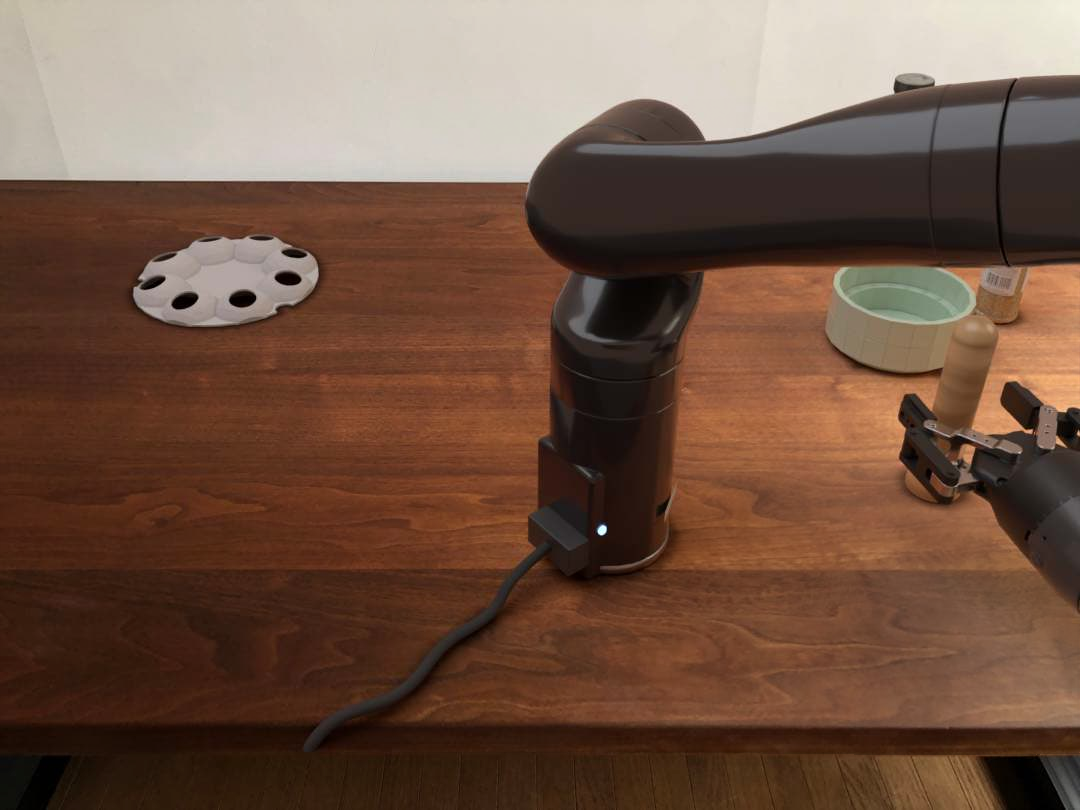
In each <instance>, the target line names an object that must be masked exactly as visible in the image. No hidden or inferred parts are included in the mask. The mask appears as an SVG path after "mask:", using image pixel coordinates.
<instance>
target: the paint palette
mask: <svg viewBox="0 0 1080 810" xmlns="http://www.w3.org/2000/svg"><path fill="white" fill-rule="evenodd" d="M290 256H301V257H300V258H299V257H298V258H297V257H290ZM282 275H293V276H296V277H298V278H299V279H300V280H301V281H300V282H299V283H298V284H294V285H286V284H282V283H280V282H278V281H277V280H276V278H277V277H278V276H282ZM319 277H320V275H319V266H318V262H317V260H316V258H315V256H313V255H312V254H311V253H309V252H308V251H307V250H305V249H303V248H299V247H295V246H293V245H291V244H288V243H285V242H283V241H282V240H280V238H278V237H276V236H274V235H271V234H265V233H254V234H253V233H252V234H250V235H247V236H244V238H237V239H230V238H227V237H225V236H221V235H209V236H203V237H199V238H198V239H196V240H194V241H193V242H192V243H191V244H190V245H189V246H188V247H187V248H184V249H180V250H177V251H167V252H164V253H160V254H158V255H156V256H155V257H153V258H152V259H150V260H149V262H148V263H147V264H146V265H145V268H144V270H143V272H141V274H140V275H139V277H138V278H137V280H138V281H141V282H140V283H139V284H138V285H137V286H134V287H133V293H132V297H133V300H134V303H135V304H136V306H137V307H138V308H139V309H140V310H141V311H142V312H144V314H147V315H148V316H150V317H151V318H153V319H156V320H158V321H161V322H163V323H165V324H170V325H175V326H179V327H180V326H181V327H188V328H190V327H191V328H192V327H193V328H216V327H218V328H220V327H228V326H238V325H245V324H248V323H253V322H256V321H260V320H263V319H267V318H269V317H272V316H274V315H277V314H278V311H277V309H278V308H279V307H283V306H290V307H293V306H295V305H297V304H298V303H300V302H302V301H304V299H307V297H308V296H309V295H310V294H312V292H313V291H314V289H315V288H316V285H317V283H318V281H319ZM163 279H165V280H164V281H163V282H162V283H161V284H159V285H157V286H156V287H154V288H150V289H145V288H147V287H149V286H153V285H155V283H156V282H158V281H161V280H163ZM245 296H255V297H256V299H255V301H254V302H253V303H252V304H251V305H249V306H246V307H238V306H235V305H233V304H231V303H230V300H231V299H235V298H239V297H245ZM183 297H184V298H185V297H186V298H189V299H194V298H195V299H196V298H198V299H197V300H196V302H195V303H194V304H192V305H191V306H189V307H187V308H183V309H176V308H174V306H173V305H172V304H173V302H174V301H175V300H176V299H178V298H183Z"/></svg>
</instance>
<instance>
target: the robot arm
mask: <svg viewBox="0 0 1080 810" xmlns="http://www.w3.org/2000/svg"><path fill="white" fill-rule="evenodd" d="M524 214H525V221H526V225H527V227H528V230H529V232H530V234H531V236H532V237H533V239H534V240H535V242H536V244H537V246H538V247H539V248H540V249H541V250H542V251H543V252H544V253H545V254H546V255H547V256H548V257H549V258H550V259H552V261H554V262H555V263H556V264H558V265H559V266H560V267H562V268H564V269H566V270H569V274H568V277H567V279H566V280H565V282H564V284H563V286H562V288H561V290H560V291H559V293H558V295H557V297H556V299H555V301H554V303H553V306H552V310H551V314H550V325H549V326H550V329H549V330H550V334H549V336H550V337H549V339H550V340H549V343H550V349H549V405H548V406H549V407H548V408H549V410H548V411H549V412H548V415H549V417H548V434H546V435H543V436H542V437H540V438H539V439H538V442H537V510H535V511H533V512H532V513H529V514H528V515H527V542H528V543H530V544H531V545H532V546H533V547H534V548H535V549H534V550H533V551H532V552H530V553H529V555H527V556H526V557H525V558H523V559H522V560H521V562H519V563H518V564H517V566H515V567H514V568H513V569H512V571H511V572H509V574H508V575H507V576H506V578H505V579H504V580H503V581H502V583H501V585H500V587H499V589H498V591H497V593H496V595H495V597H494V599H493V600H492V602H491V603H490V604H489V605H488V606H487V607H486V608H485V609H484V610H483V611H482V612H481V613H479V614H478V615H476V616H475V617H474V618H472V619H470V620H468V621H467V622H465V623H464V624H462V625H461V626H458V627H456V628H455V629H454V630H452V631H451V632H449V633H448V634H446V635H445V636H444V637H443V638H442V639H440V640H439V642H437V643H436V644H435V645H434V646H433V647H432V648H431V649H430V651H429V652H428V653H427V654H426V656H425V657H424V658H423V660H422V661H421V662H420V663H419V665H418V666H417V667H416V668H415V670H414V671H413V672H412V673H411V675H409V676H408V677H407V678H406V679H405V680H404V681H403V682H401V683H400V684H399V685H398V686H396V687H395V688H393V689H391V690H390V691H388V692H386V693H383V694H381V695H378V696H376V697H373V698H369V699H367V700H364V701H360V702H357V703H355V704H351V705H349V706H346V707H343V708H341V709H340V710H339V709H338V711H335V712H334V713H332V714H331V715H329V716H328V717H326V718H325V719H324V720H322V722H320V724H319V725H318V726H317V727H316V728H314V730H313V731H312V732H311V733H310V735H309V736H308V738H307V739H306V741H305V743H304V744H303V747H302V750H303V752H304V753H312V752H315V750H316V749H318V748H319V746H320V744H321V743H322V742H323V741H324V739H325V738H327V736H328V735H329V734H330V733H331V732H333V731H334V730H335V729H336V728H337V727H339V726H341V725H343V724H345V723H347V722H348V721H351V720H354V719H357V718H359V717H362V716H365V715H368V714H371V713H375V712H377V711H380V710H383V709H386V708H388V707H390V706H392V705H394V704H396V703H398V702H400V701H401V700H402V699H404V698H405V697H407V696H408V695H409V694H411V693H412V692H413V691H414V690H415V689H416V688H417V687H418V686H419V685H420V684H421V683H422V682H423V680H424V679H425V678H426V677H427V676H428V675H429V673H430V672H431V670H432V669H433V667H434V666H435V665H436V664H437V662H438V661H439V660H440V659H441V657H443V656H444V655H445V654H446V652H448V651H449V650H450V649H451V648H452V647H453V646H455V645H456V644H457V643H459V642H460V641H462V640H463V639H464V638H467V637H468V636H470V635H472V634H473V633H475V632H477V631H478V630H480V629H482V628H483V627H484V626H486V625H487V624H488V623H489V622H491V621H492V620H493V619H494V618H495V617H496V616H497V615H498V614H499V612H501V610H502V609H503V607H504V605H505V604H506V602H507V600H508V598H509V596H510V594H511V592H512V590H513V589H514V587H516V585H517V584H518V582H519V581H520V580H521V579H522V578H523V577H524V576H525V575H526V574H527V573H528V572H529V571H530V570H531V569H532V568H533V567H534V566H535V565H536V564H538V563H539V562H540V561H541V560H543V558H544V557H546V558H547V560H548V561H550V562H551V563H552V564H553V565H555V566H556V567H557V568H558V569H559V570H560V571H561V572H562V573H563V574H565V575H566V576H567V577H570V576H572V575H574V574H576V573H579V574H580V575H581V576H582V577H583V578H585V579H587V580H591V579H592V578H594V577H596V576H598V575H621V574H627V573H631V572H632V573H633V572H635V571H639V570H641V569H644V568H646V567H647V566H650V565H651V564H653V563H654V562H655V561H657V560H658V559H659V558H660V557H661V555H662V554H663V553H664V552H665V550H666V548H667V545H668V542H669V533H670V525H669V521H670V510H671V506H672V503H673V500H674V499H675V495H676V493H677V483H678V482H677V481H676V482H675V485H674V488H673V478H674V468H675V458H676V450H677V449H676V448H677V437H678V428H679V418H680V417H679V416H680V406H681V396H682V387H683V377H684V368H685V358H686V349H687V340H688V334H689V330H690V327H691V324H692V321H693V320H694V317H695V316H696V315H695V314H696V312H697V310H698V306H699V303H700V300H701V296H702V291H703V285H704V279H705V273H706V272H710V271H717V270H731V269H741V268H759V267H760V268H762V267H766V268H767V267H770V268H771V267H774V268H776V267H777V268H780V267H783V268H786V267H787V268H842V267H917V268H942V269H983V268H1011V267H1013V268H1031V269H1032V268H1047V267H1048V268H1049V267H1069V266H1070V267H1072V266H1073V267H1074V266H1080V74H1057V75H1056V74H1055V75H1054V74H1053V75H1035V76H1034V75H1031V76H1030V75H1029V76H1020V77H1011V78H998V79H988V80H980V81H970V82H958V83H947V84H939V85H935V86H932V87H926V88H920V89H914V90H909V91H904V92H900V93H892V94H888V95H883V96H880V97H876V98H873V99H869V100H865V101H862V102H858V103H855V104H852V105H849V106H845V107H842V108H839V109H835V110H831V111H828V112H825V113H821V114H819V115H816V116H812V117H809V118H806V119H803V120H800V121H797V122H794V123H790V124H788V125H784V126H782V127H777V128H774V129H770V130H768V131H763V132H759V133H755V134H751V135H745V136H740V137H739V136H738V137H733V138H732V137H731V138H723V139H713V140H712V139H711V140H707V139H706V138H705V135H704V134H703V132H702V130H701V129H700V127H699V126H698V125H697V124H696V122H695V121H694V120H693V119H692V118H691V117H690V116H689V115H688V114H687V113H685V112H684V111H683V110H681V109H680V108H678V107H676V106H675V105H672V104H671V103H669V102H665V101H661V100H659V99H653V98H637V99H630V100H627V101H624V102H620V103H618V104H616V105H614V106H612V107H610V108H608V109H607V110H606V111H604V112H602V113H600V114H599V115H597V116H596V117H593V119H591V120H590V121H589V120H588V122H586V123H585V124H583V125H582V126H580V127H579V128H577V129H575V130H574V131H573V132H571V133H569V134H567V136H565V137H564V138H563V139H561V140H560V141H559V142H558V143H556V144H555V145H554V146H553V147H552V148H551V149H550V150H549V151H548V152H547V153H546V154H545V156H544V157H543V158H542V160H541V161H540V162H539V164H537V166H536V168H535V169H534V171H533V173H532V175H531V177H530V179H529V181H528V184H527V188H526V192H525V199H524ZM999 402H1000V406H1001V407H1002V408H1003V409H1004V410H1005V411H1006V412H1007V413H1008V414H1009V415H1010V416H1011V417H1012V418H1013V419H1014V420H1015V421H1016V422H1017V423H1018V424H1019V426H1021V428H1023V429H1022V430H1015V431H1011V432H1008V433H1005V434H1002V433H1001V434H1000V433H991V434H984V433H982V432H979V431H977V430H975V429H973V428H972V429H970V428H967V427H961V428H960V429H954V428H952V427H950V426H947V425H945V424H942V423H940V422H937V417H936V416H935V415H934V414H933V413H932V412H931V411H932V410H931V409H930V408H929V407H928V406H927V404H926V403H924V401H923V400H922V399H921V398H920V397H919V396H918V394H916V393H915V392H912V393H906V394H904V395H903V397H902V400H901V401H900V405H899V409H898V413H897V418H898V419H897V420H898V422H899V423H900V424H901V425H902V426H903V428H904V429H905V431H904V435H903V441H902V444H901V449H900V451H899V454H898V459H899V461H900V462H901V463H902V464H903V465H904V467H905V468H906V469H907V470H909V471H910V472H911V473H912V474H913V475H914V476H915V478H916V479H917V480H918V481H919V482H920V483H921V484H922V485H923V487H924V488H925V489H926V490H927V491H928V492H929V493H930V494H931V496H932V497H933V498H934V499H935V500H936V501H937V502H938V503H937V504H940V505H944V506H950V505H952V504H953V502H954V501H953V499H954V496H955V495H956V494H960V495H961V494H966V493H973V494H975V495H977V496H978V497H980V498H982V499H983V500H985V501H986V502H988V503H989V505H990V507H991V509H992V511H993V514H994V516H995V519H996V521H997V523H998V526H999V527H1000V529H1001V530H1002V531H1003V532H1004V533H1005V534H1006V536H1007V537H1008V538H1009V539H1010V540H1011V542H1012V543H1013V544H1014V545H1015V546H1016V547H1017V548H1018V550H1019V551H1020V552H1021V554H1022V555H1023V556H1024V557H1025V558H1026V559H1027V560H1028V562H1029V563H1030V564H1031V565H1032V566H1033V568H1034V569H1035V570H1036V571H1037V572H1038V573H1039V575H1040V576H1041V577H1042V578H1043V580H1044V581H1045V582H1046V583H1047V584H1048V586H1050V588H1051V589H1052V590H1053V591H1054V592H1055V593H1056V595H1057V596H1058V597H1059V598H1060V599H1061V600H1062V601H1064V603H1066V604H1067V605H1068V606H1069V607H1070V608H1072V609H1073V610H1074V611H1075V612H1076V613H1077V614H1078V615H1079V616H1080V435H1079V434H1078V433H1080V408H1078V407H1076V406H1075V407H1074V406H1072V407H1068V408H1067V409H1066V411H1058V409H1057V408H1056V407H1055V406H1052V405H1049V404H1044V402H1042V401H1041V400H1040V399H1039V398H1038V397H1037V396H1036V395H1035V394H1034V393H1033V392H1032V391H1031V390H1030V389H1029V388H1026V387H1025V386H1024V385H1023V386H1022V385H1021V383H1019V382H1018V381H1016V380H1013V381H1006V382H1005V383H1004V385H1003V388H1002V390H1001V395H1000V398H999ZM1024 430H1025V431H1031V430H1032V431H1031V433H1029V432H1025V431H1024ZM938 438H940V439H943V440H945V441H947V442H949V443H950V445H951V447H950V450H948V449H945V448H943V447H940V446H938V445H936V444H937V440H938ZM1057 438H1058V439H1059V441H1061V443H1062V444H1063V445H1061V444H1059V443H1057ZM966 444H967V445H968V446H971V447H973V448H974V451H973V455H972V458H971V464H970V463H968V462H966V460H965V459H964V456H963V454H964V455H965V452H966V449H967V446H966ZM965 448H966V449H965ZM964 451H965V452H964Z"/></svg>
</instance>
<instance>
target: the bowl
mask: <svg viewBox="0 0 1080 810" xmlns="http://www.w3.org/2000/svg"><path fill="white" fill-rule="evenodd" d="M975 308H976V292H975V291H974V290H973V288H972V287H971V286H970V284H969V283H968V282H966V281H965V280H964V279H962V278H961V277H959V276H958V275H957V274H955V273H953V272H951V271H949V270H947V269H945V268H917V267H840V269H839V270H838V271H837V272H836V273H835V274H834V276H833V282H832V288H831V292H830V296H829V303H828V307H827V313H826V319H825V325H824V331H825V333H826V335H827V338H828V339H829V341H830V343H831V344H832V345H833V346H834V347H836V348H837V349H838V350H839V351H840V352H841V353H843V354H845V356H847V357H848V358H850V359H852V360H854V361H855V362H857V363H859V364H862V365H864V366H866V367H868V368H872V369H875V370H879V371H884V372H890V373H895V374H896V373H897V374H919V373H920V374H921V373H924V372H925V373H926V372H930V371H934V370H937V369H943V366H944V362H945V359H946V355H947V351H948V347H949V344H950V340H951V336H952V333H953V329H954V327H955V326H956V324H957V323H958V322H959V321H960V320H961V319H963V318H965V317H967V316H970V315H975V314H974V311H975Z"/></svg>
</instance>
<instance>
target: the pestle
mask: <svg viewBox="0 0 1080 810" xmlns="http://www.w3.org/2000/svg"><path fill="white" fill-rule="evenodd" d="M999 337H1000V336H999V330H998V328H997V325H996V323H994V322H992V321H991V320H990V319H989V318H987V317H985V316H982V315H976V314H974V315H970V316H967V317H965V318H963V319H961V320H960V321H959V322H958V323H957V324H956V326H955V327H954V329H953V333H952V336H951V340H950V344H949V347H948V351H947V355H946V359H945V362H944V366H943V368H942V369H941V374H940V378H939V381H938V384H937V388H936V393H935V396H934V400H933V404H932V407H931V410H930V411H931V412H932V413H933V414H934V415H935V416H936V417H937V422H940V423H942V424H945V425H947V426H950V427H952V428H954V429H960V428H961V427H967V428H970V429H972V430H973V425H974V422H975V419H976V417H977V412H978V409H979V405H980V402H981V398H982V395H983V392H984V389H985V386H986V382H987V378H988V375H989V372H990V368H991V365H992V362H993V358H994V356H995V352H996V349H997V345H998V342H999ZM936 445H938V446H940V447H943V448H945V449H948V450H950V447H951V445H950V443H949V442H947V441H945V440H943V439H940V438H938V440H937V444H936ZM967 445H968V444H966V448H965V451H964V454H963V457H964V456H965V452H966V449H967ZM904 482H905V483H904V484H905V486H906V488H907V489H908V491H909V492H910V493H911V494H913V495H914V496H915V497H917V498H919V499H921V500H923V501H926V502H929V503H935V504H939V503H938V502H937V501H936V500H935V499H934V498H933V497H932V496H931V494H930V493H929V492H928V491H927V490H926V489H925V488H924V487H923V485H922V484H921V483H920V482H919V481H918V480H917V479H916V478H915V476H914V475H913V474H912V473H911V472H910V471H909V470H908V469H907V471H906V474H905V478H904ZM960 496H961V494H956V495H955V496H954V499H953V502H954V501H956V500H957V499H959V498H960Z"/></svg>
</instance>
